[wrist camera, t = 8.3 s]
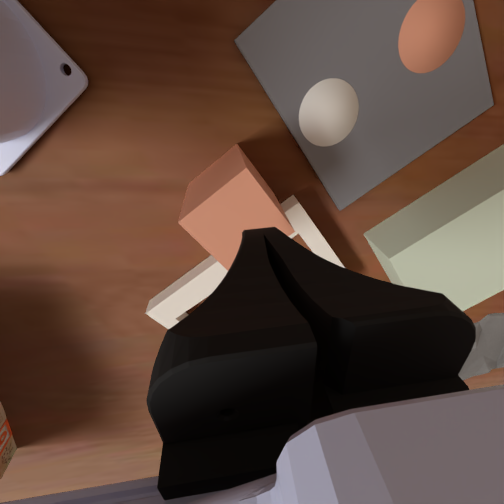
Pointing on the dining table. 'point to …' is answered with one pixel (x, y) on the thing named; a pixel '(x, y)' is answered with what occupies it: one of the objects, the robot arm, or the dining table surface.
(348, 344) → the robot arm
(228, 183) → the peg
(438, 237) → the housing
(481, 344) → the cloth
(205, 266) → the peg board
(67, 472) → the dining table surface
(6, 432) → the stack of blocks
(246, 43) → the pattern mat
